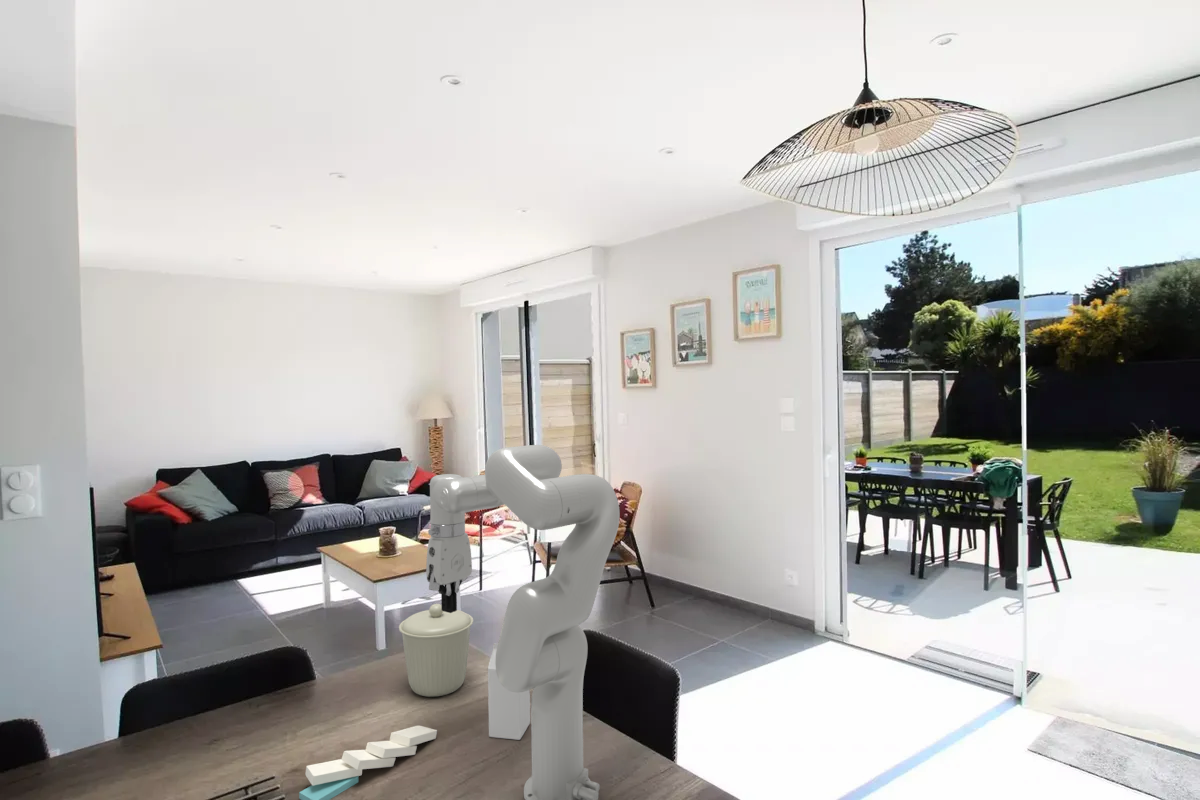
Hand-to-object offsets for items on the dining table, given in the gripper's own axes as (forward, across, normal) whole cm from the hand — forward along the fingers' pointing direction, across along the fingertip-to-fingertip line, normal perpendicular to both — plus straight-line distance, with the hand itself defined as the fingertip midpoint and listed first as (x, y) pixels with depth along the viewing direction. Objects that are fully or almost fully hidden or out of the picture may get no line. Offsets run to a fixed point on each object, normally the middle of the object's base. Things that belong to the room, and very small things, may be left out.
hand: (449, 610), depth 146 cm
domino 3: (+24, -18, -1) cm, 30 cm away
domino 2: (+25, -26, +1) cm, 36 cm away
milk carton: (+25, +4, -14) cm, 29 cm away
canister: (+25, +10, +15) cm, 31 cm away
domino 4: (+24, -13, -1) cm, 28 cm away
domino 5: (+24, -7, 0) cm, 25 cm away
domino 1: (+23, -24, +1) cm, 34 cm away
